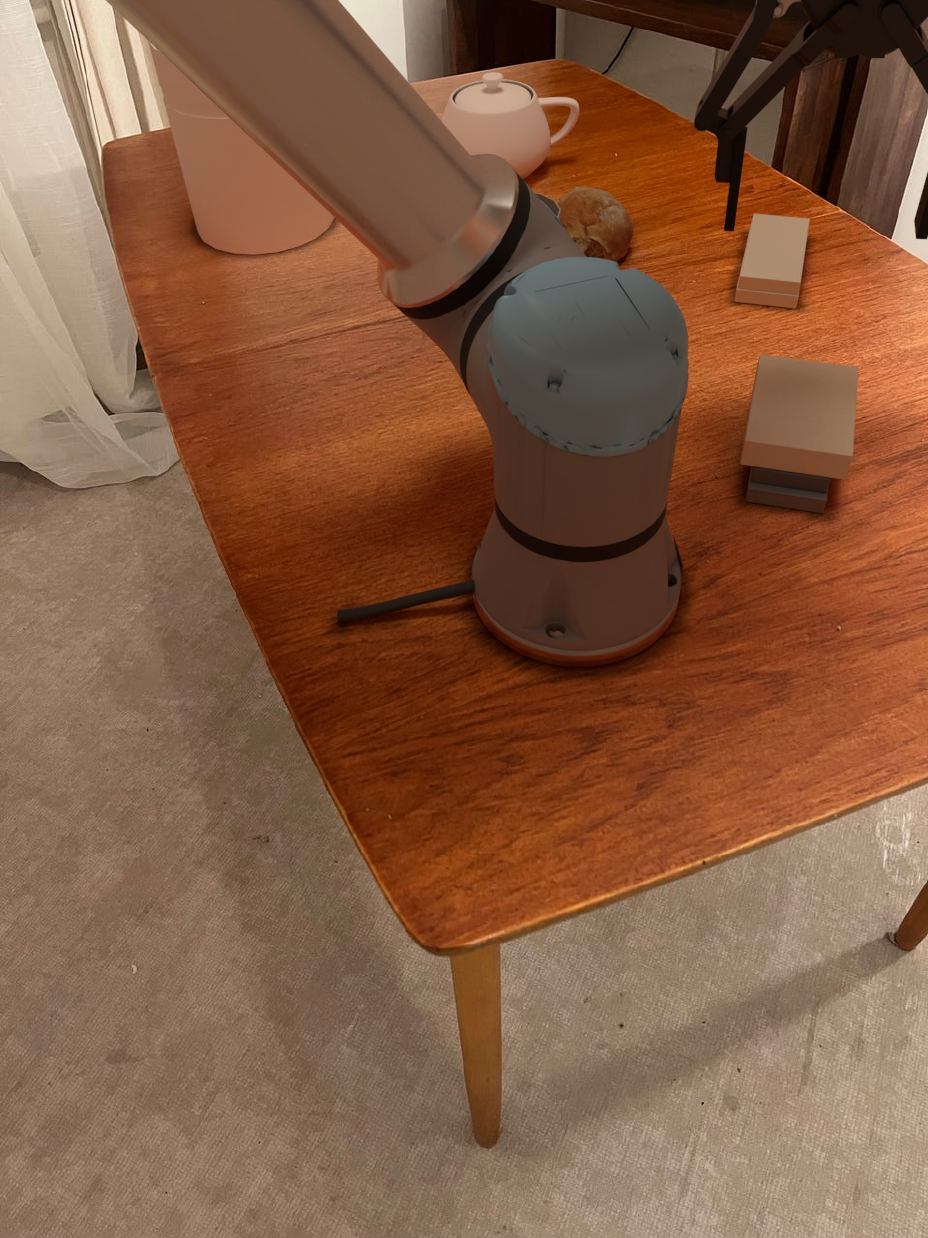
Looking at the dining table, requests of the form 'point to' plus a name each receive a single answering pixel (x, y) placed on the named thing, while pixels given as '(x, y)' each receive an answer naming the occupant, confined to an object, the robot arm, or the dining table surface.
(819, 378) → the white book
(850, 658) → the dining table surface
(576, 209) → the bread roll
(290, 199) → the canister
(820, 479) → the grey stack
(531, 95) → the teapot
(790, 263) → the white stack
